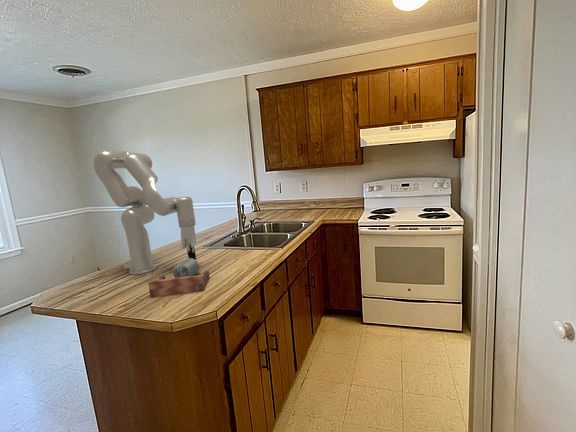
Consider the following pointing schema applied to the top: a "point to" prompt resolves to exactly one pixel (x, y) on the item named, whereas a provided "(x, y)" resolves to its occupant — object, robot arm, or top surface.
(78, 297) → the top surface
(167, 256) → the top surface
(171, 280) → the guide channel
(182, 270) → the grey rounded piece
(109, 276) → the top surface
